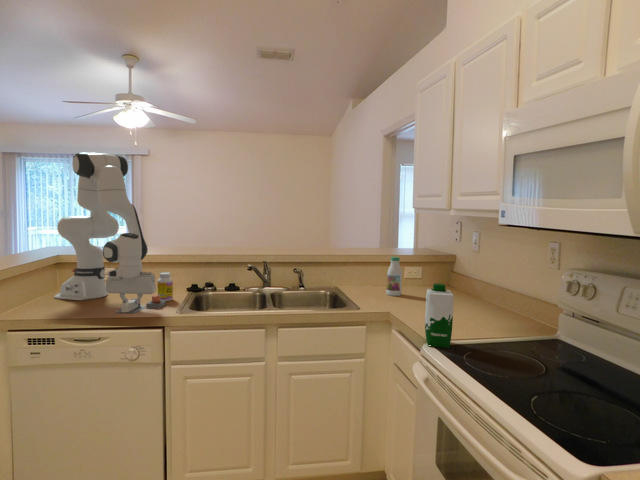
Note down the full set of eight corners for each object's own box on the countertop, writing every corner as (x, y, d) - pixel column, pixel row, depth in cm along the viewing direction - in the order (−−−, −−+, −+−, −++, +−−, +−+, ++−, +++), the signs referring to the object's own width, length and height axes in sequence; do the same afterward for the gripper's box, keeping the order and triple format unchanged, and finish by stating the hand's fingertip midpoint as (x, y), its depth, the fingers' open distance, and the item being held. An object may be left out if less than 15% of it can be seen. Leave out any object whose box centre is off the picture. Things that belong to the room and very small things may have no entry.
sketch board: (115, 312, 162) (115, 312, 162) (128, 306, 173) (128, 305, 173) (134, 313, 162) (134, 312, 162) (146, 306, 173) (146, 305, 173)
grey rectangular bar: (128, 311, 162) (128, 304, 162) (121, 312, 162) (120, 304, 162) (140, 305, 172) (139, 298, 172) (133, 306, 172) (132, 298, 172)
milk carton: (448, 340, 137) (451, 283, 135) (453, 349, 128) (456, 289, 126) (423, 338, 138) (425, 282, 136) (425, 347, 129) (428, 287, 128)
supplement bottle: (167, 302, 181) (167, 274, 180) (154, 301, 182) (154, 274, 181) (175, 298, 188) (175, 272, 187) (163, 297, 189) (162, 271, 188)
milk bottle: (390, 292, 212) (391, 255, 210) (403, 294, 207) (405, 257, 206) (383, 294, 206) (385, 257, 204) (397, 297, 201) (398, 258, 199)
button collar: (146, 308, 170) (146, 303, 170) (152, 304, 176) (152, 300, 176) (160, 308, 170) (159, 303, 170) (165, 304, 176) (165, 300, 176)
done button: (150, 303, 171) (150, 296, 171) (154, 301, 175) (154, 294, 174) (158, 303, 171) (158, 296, 171) (161, 301, 175) (161, 295, 174)
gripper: (158, 271, 169) (158, 302, 170) (111, 269, 169) (112, 301, 170) (151, 273, 162) (152, 306, 164) (103, 272, 163) (103, 304, 164)
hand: (131, 303), depth 167 cm, fingers open, 4 cm apart
